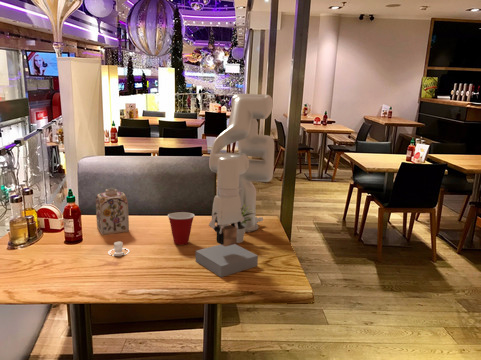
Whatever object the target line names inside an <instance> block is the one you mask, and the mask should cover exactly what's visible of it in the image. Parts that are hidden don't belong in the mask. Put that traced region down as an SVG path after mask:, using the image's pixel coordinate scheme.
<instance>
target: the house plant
mask: <svg viewBox="0 0 481 360" xmlns="http://www.w3.org/2000/svg"><path fill="white" fill-rule="evenodd" d="M244 206H245V205H244ZM244 206H243V207H242V208H241V214H242V216H243V217H245V216H247V215H250V214H255V215H256V213H249V211H247V209H248V208H249V207H250V206H249V207H247V208H245V210H244V211H243V212H242V210H243V208H244ZM246 211H247V212H248V213H249V214H247V212H246ZM250 211H252V210H250ZM245 212H246V214H245ZM246 218H249V217H246ZM246 218H244V219H246ZM245 221H250V218H249V219H246V220H244V221H243V222H242V223H245V224H246V222H245ZM251 221H252V220H251ZM242 223H241V224H240V226H239V227H238V230H237V242H236V244H241V243H243V242H244V238H245V233H246V232H245V228H246V227H245V225H242Z"/></svg>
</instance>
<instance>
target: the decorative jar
mask: <svg viewBox="0 0 481 360" xmlns="http://www.w3.org/2000/svg"><path fill="white" fill-rule="evenodd" d="M95 212H96V214H95V215H96V216H95V217H96V227H97V229H98V231H99V233H100V235H102V236H104V235H110V234H111V235H112V234H119V233H124V232H125V233H127V232H129V231H130V224H129V223H130V221H129V220H130V219H129V201H128V199H127V195H126V193H124V192H122V191H118V189H116V188H106V189H105V191H104V192H100V193H98V194H96V197H95Z"/></svg>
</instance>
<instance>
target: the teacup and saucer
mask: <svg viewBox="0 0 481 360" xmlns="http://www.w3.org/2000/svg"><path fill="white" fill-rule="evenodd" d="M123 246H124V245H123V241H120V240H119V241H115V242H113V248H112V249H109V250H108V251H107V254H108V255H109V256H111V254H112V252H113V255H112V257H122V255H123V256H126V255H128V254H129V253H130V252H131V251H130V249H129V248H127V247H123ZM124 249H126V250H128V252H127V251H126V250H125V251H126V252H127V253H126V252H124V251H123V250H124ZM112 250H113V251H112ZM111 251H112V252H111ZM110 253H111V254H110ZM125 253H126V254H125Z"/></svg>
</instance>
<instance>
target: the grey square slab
mask: <svg viewBox="0 0 481 360" xmlns="http://www.w3.org/2000/svg"><path fill="white" fill-rule="evenodd" d="M194 260H195V262H196V263H198V264H199V265H201V266H203V267H204V268H205V269H207V270H208V271H210V272H212V273H213V274H215V275H216V276H218V277H219V278H224V277H226V276H230V275H234V274H237V273H240V272H242V271H247V270H249V269H253V268H255V267H258V263H259V261H258V260H259V255H257V254H256V253H254V252H252V251H250V250H248V249H246V248H245V247H244V248H243V247H242V246H240V245H238V244H237V243H236V244H233V245H229V246H223V245H221V244H217V245H213V246H209V247H205V248H202V249H198V250H195V259H194Z"/></svg>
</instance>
